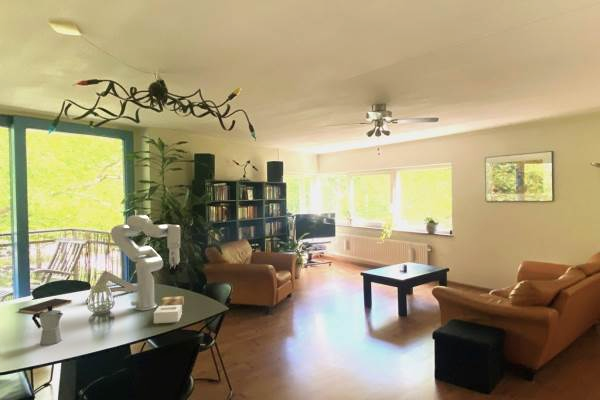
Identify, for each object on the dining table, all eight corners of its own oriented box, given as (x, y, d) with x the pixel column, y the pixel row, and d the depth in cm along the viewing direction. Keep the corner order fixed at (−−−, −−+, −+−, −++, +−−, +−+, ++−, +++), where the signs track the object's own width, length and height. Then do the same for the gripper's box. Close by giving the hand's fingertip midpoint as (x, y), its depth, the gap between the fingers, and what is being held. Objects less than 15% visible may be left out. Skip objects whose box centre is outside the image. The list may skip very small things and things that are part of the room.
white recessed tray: (153, 323, 195) (153, 312, 195) (159, 316, 207) (159, 306, 207) (178, 322, 197) (177, 311, 197) (181, 314, 209) (181, 304, 209)
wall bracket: (124, 317, 252) (88, 302, 231) (120, 316, 255) (85, 301, 233) (139, 288, 263) (107, 271, 242) (136, 287, 265) (103, 270, 244)
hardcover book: (72, 303, 235) (72, 300, 235) (37, 315, 213) (37, 311, 213) (54, 301, 240) (54, 298, 239) (18, 312, 218) (18, 308, 218)
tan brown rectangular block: (161, 313, 212) (161, 299, 211) (163, 310, 216) (163, 297, 216) (182, 312, 213) (182, 298, 213) (183, 309, 218) (183, 296, 218)
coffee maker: (69, 338, 176) (68, 302, 176) (58, 345, 167) (57, 308, 167) (39, 338, 176) (38, 303, 175) (26, 346, 167) (25, 309, 167)
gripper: (178, 247, 206) (178, 276, 206) (182, 243, 222) (182, 269, 223) (165, 247, 204) (165, 276, 204) (169, 243, 221) (170, 270, 221)
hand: (174, 273), depth 214 cm, fingers open, 9 cm apart
